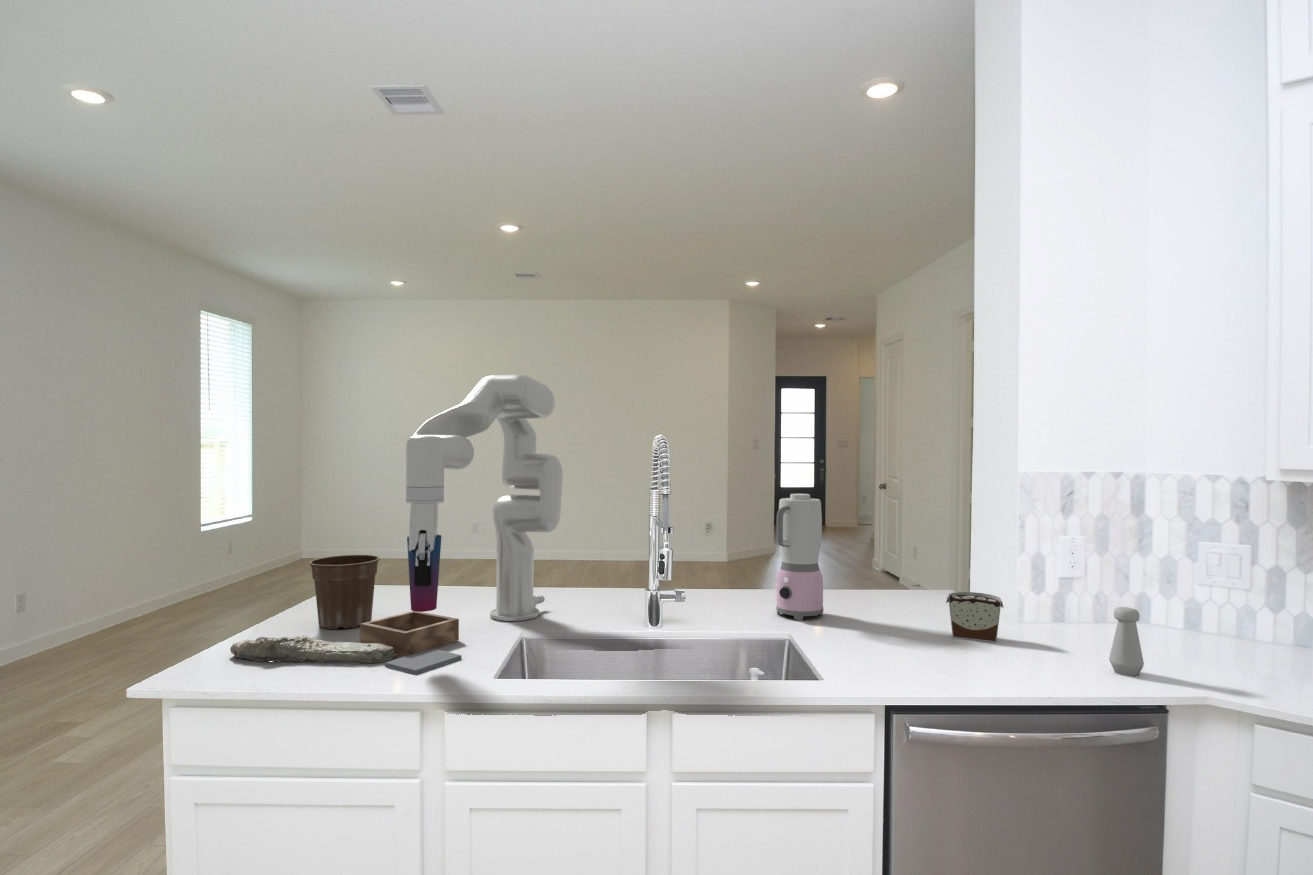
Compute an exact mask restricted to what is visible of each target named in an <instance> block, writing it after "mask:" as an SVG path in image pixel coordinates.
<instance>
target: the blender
mask: <svg viewBox="0 0 1313 875" xmlns="http://www.w3.org/2000/svg"><path fill="white" fill-rule="evenodd" d="M822 515H823V514H822V501H821V499H819V498H811V494H809V493H790V495H789V497H784V498H780V499H779V502H778V510H777V512H776V544H778V546H779V551H780V555H781V558H780V559H781V565H780V567H779V569H778V572H777V574H776V605H775V606H776V615H777V616H778V615H780V616H781V614H783V615H787V616H788V615H789V616H793V618H794V619H796V620H795V621H798V620H802V621H803V620H804V617H813V616H818V615H819V614H820V615H819V616H823V613H824V578H823V574H822V571H821V570H820V567H819V556H820V554H821V553H820V552H821V551H820V550H821V545H822V537H823V535H822V534H823V533H822V532H823V528H822V527H823V526H822V525H823V524H822V523H823V519H822V518H823V516H822Z"/></svg>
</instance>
